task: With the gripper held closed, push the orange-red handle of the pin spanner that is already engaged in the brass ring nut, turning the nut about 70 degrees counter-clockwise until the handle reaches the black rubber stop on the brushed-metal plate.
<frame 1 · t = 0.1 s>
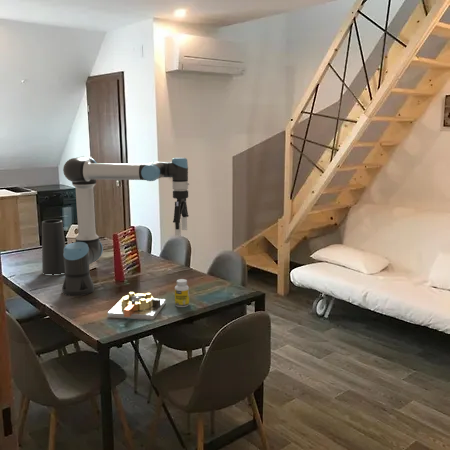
hand: (181, 232, 253), 28 cm above the table, fingers open, 13 cm apart
ring nut: (134, 303, 222), point 4 cm above the table, hinge at 0.0°
pill bottle: (182, 305, 233), on the table
vase: (55, 272, 284), on the table
plate: (137, 310, 227), on the table
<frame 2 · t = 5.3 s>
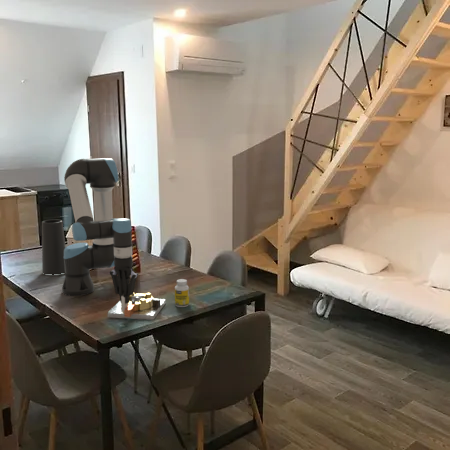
hand: (125, 310, 216), 4 cm above the table, fingers closed
ring nut: (134, 303, 222), point 4 cm above the table, hinge at 0.7°, touching gripper
everything else where it was.
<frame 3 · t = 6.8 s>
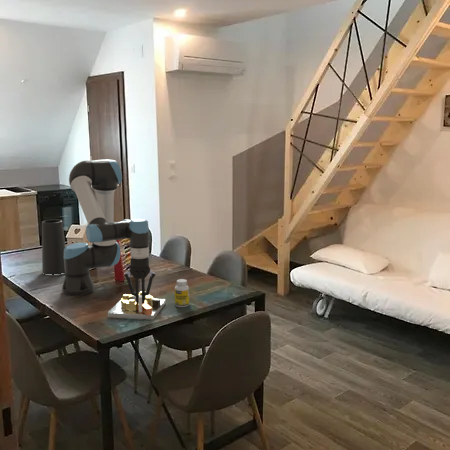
hand: (140, 310, 216), 3 cm above the table, fingers closed
ring nut: (140, 303, 223), point 4 cm above the table, hinge at 38.3°, touching gripper
everything else where it was.
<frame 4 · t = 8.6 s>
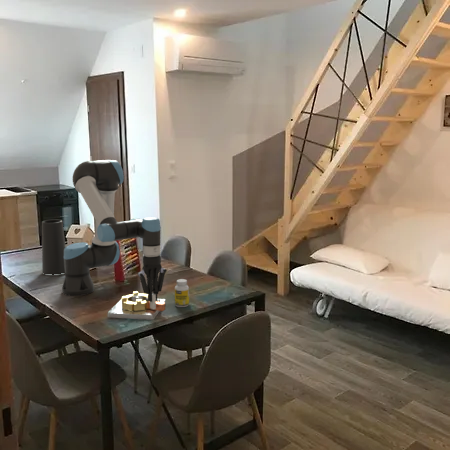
hand: (152, 308, 219), 3 cm above the table, fingers closed
ring nut: (144, 301, 224), point 4 cm above the table, hinge at 70.2°, touching gripper
everything else where it was.
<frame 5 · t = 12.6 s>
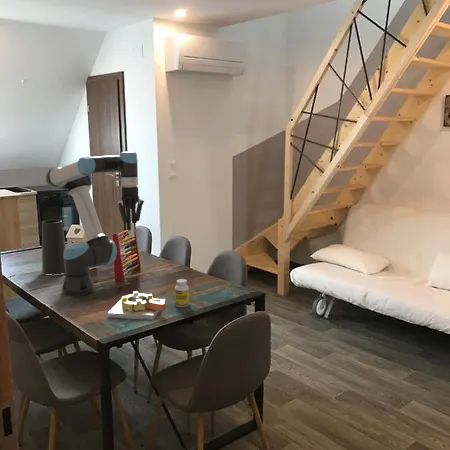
hand: (131, 236, 237), 29 cm above the table, fingers closed
ring nut: (144, 301, 224), point 4 cm above the table, hinge at 70.2°
everything else where it was.
at the end: ring nut at +70° (first picture: +0°) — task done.
